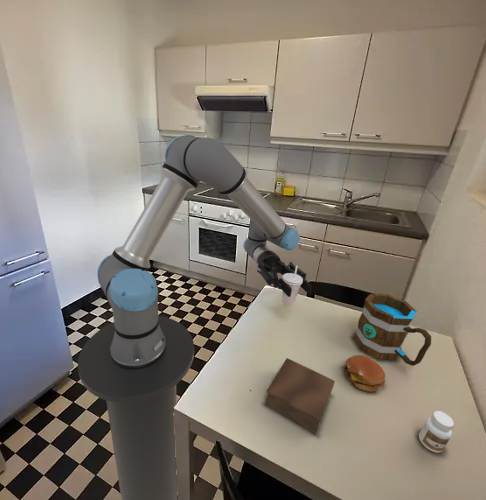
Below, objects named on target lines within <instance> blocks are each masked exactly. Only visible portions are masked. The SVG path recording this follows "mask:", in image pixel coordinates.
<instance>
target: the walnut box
mask: <svg viewBox="0 0 486 500" xmlns="http://www.w3.org/2000/svg"><path fill="white" fill-rule="evenodd" d="M335 382H336V380H334V379H332V378H330V377H328V376H325V375H324V374H322V373H320V372H317V371H315V370H314V369H311V368H309V367H307V366H306V365H303V364H301V363H298V362H297V361H294V360H293V359H290V358H288V357H286V358H285V360H284V362H283V364H282V365H281V366H280V368H279V370H278V372H277V373H276V375H275V376H274V378H273V379H272V381H271V383H270V385H269V386H268V388H267V390H266V393H267V394H266V401H265V406H266V407H268V408H270V409H271V410H273V411H274V412H276V413H278V414H279V415H282V416H283V417H285V418H286V419H288V420H290V421H291V422H292V423H295V424H297V425H298V426H300V427H301V428H303V429H305V430H307V431H309V432H310V433H312V434H314V435H315V436H316V435H317V433H318V430H319V427H320V424H321V423H322V420H323V417H324V414H325V412H326V408H327V405H328V402H329V400H330V397H331V394H332V391H333V389H334V385H335V384H336V383H335Z"/></svg>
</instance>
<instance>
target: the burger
mask: <svg viewBox="0 0 486 500" xmlns="http://www.w3.org/2000/svg"><path fill="white" fill-rule="evenodd" d="M344 364H345V366H344V368H343V369H344V371H345V376H346V377H347V380H349V381H351V382H352V383H353V385H354V386H355V387H356V388H357V389H359V390H361V391H364V392H369V393H373V392H377V391H378V390H379V389H381V388H382V387H384V385H385V383H386V380H385V379H386V373H385V371H384V369H383V367H382V366H381V365H380V364H379V363H377V362H376V361H375V360H374V359H372V358H371V357H369V356H366V355H364V354H356V355H355V354H354V355H352V356H350V357H348V358H347V359H346V360H345V362H344Z"/></svg>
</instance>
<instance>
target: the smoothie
mask: <svg viewBox="0 0 486 500" xmlns="http://www.w3.org/2000/svg"><path fill="white" fill-rule="evenodd" d="M295 266H296V268H295V273H294V274H293V273H286V274H284V275H282V277H281V278H282V279H283V280H284V281H285V282H286V283H287V284H288V285H289V286H290V287H291V288H292V291H291V297H288V296H287V295H286V294H285V293H284V292H283V291H282V297H281V298H282V299H281V302H282V305H283V306H285V307H288V308H292V307H294V306H295V303H296V299H297V297H298V294H299V291H300V288H301V287H300V286H301V284H302V283H303V278H302V277H301V276H299V275H297V274H296V272H297V268H299V267H298V265H295Z"/></svg>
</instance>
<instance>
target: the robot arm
mask: <svg viewBox="0 0 486 500" xmlns="http://www.w3.org/2000/svg"><path fill="white" fill-rule="evenodd" d="M164 158H165V159H164V160H165V161H164V162H163V165H161V168H160V169H161V173H162V177H161V179H160V180H159V182H158V184H157V186H156V187H155V189H154V191H153V193H152V194H151V196H150V198H149V200H148V202H147V203H146V204H145V207H144V208H143V210H142V212H141V214H140V215H139V217H138V219H137V220H136V222H135V223H134V226H133V228H132V229H131V231H130V232H129V235H128V237H127V238H126V240H125V242H124V243H123V245H121V246H117V247H115V248H114V249H113V252H112V253H111V254H109V255H106V256H105V257H104V258H103V259H102V260H101V261H100V263H99V265H98V268H97V272H96V273H97V275H96V276H97V281H98V284H99V286H100V288H101V289H102V291H103V293H104V295H105V297H106V299H107V301H108V303H109V305H110V307H111V310H112V316H113V317H112V318H113V322H114V326H115V333H114V338H113V341H112V343H111V347H110V352H111V358H112V360H113V362H114V363H115V364H116V365H118V366H120V367H122V368H125V369H140V368H144V367H147V366H150V365H152V364H154V363H155V362H157V361H158V360H159V359H160V358H161V357H162V356H163V354H164V352H165V349H166V340H165V336H164V335H163V332H162V330H161V328H160V326H159V324H158V316H159V297H158V295H159V289H158V285H157V280H156V277H155V276H154V275H153V274H152V273H151V272H149V271H150V268H151V263H150V258H151V256H152V255H153V253H154V251H155V250H156V248H157V246H158V244H159V242H160V241H161V239H162V238H163V235H164V234H165V232H166V231H167V229H168V227H169V225H170V224H171V222H172V220H173V219H174V217H175V215H176V213H177V211H178V210H179V208H180V207H181V205H182V203H183V201H184V199H185V198H186V196H187V194H188V193H189V192H192V191H195V190H196V189H197V188H198V186H199V184H200V182H201V183H203V184H206V185H208V186H210V187H211V188H213V189H215V191H217V192H218V193H219V194H220V195H221V196H227V197H228V199H229V200H231V201H232V202H233V203H234V204H235V205H236V206H237V207H238V208H239V209H240V210H241V211H242V212H243V213H244V214H245V215H246V216H247V217H248V219H249V226H248V235H247V236H248V237H247V238H245V240H244V242H243V249H244V251H245V252H246V255H248V256H249V257H250V258H251V259H252V260H253V261H254V262H255V263H256V264H257V268H256V269H257V270H256V272H257V273H258V274H260V276H261V277H262V278H263V280H264V281H265V283H266V284H267V285H268V286H273V288H276V289H279V290H280V291H282V293H283V292H284V293H285V294H286V295H287V296H288V297H291V291H292V288H291V287H290V286H289V285H288V284H287V283H286V282H285V281H284V280H283V279H282V277H281V278H279V275H278V274H280V275H282V276H283V275H284V274H286V273H293V274H294V273H295V268H296V266H297V265H295V264H294V263H293V262H292V261H289V262H288V263H285V262H284V261H282V259H281V258H280V256H279V254H277V253H275V252H274V251H273V250H272V248H270V247H269V246H268V245H267V242H268V243H269V242H270V243H271V244H274V245H275V246H277V247H279V248H280V249H283V250H286V251H293V250H294V249H295V248H297V246H298V245H299V243H300V240H301V239H300V238H301V235H300V233H299V231H298V230H297V229H294V228H292V227H290V226H288V225H287V223H286V222H285V221H284V220H283V219H282V218H281V216H280V215H279V214H278V213H277V212H276V210H274V208H273V206H272V205H271V204H270V203H269V202H268V201H267V200H266V198H265V197H264V196H263V194H261V192H260V191H259V190H258V189H257V188H256V187H255V185H254V184H253V183H252V182H251V180H250V179H249V178H248V177H247V171H246V169H245V168H244V166H243V165H242V164H241V163H240V161H239V160H238V159H237V157H235V155H233V154H232V152H231V151H229V150H228V148H226V146H225V145H223V144H222V143H221V142H220V141H218V140H216V139H214V138H211V137H204V136H203V137H202V136H195V135H192V134H184V135H180V136H177V137H174V138H173V139H172V140H171V141H170V142H169V143H168V145H167V146H166V148H165V151H164ZM296 274H297V275H299V276H301V277H302V278H303V283H302V284H301V286H300V288H301V289H302V290H303V291H304V292H306V294H308V295H311V294H312V290H313V285H312V284H311V283H309V281H308V280H307V273H306V272H305V271H303V270H301V269H300V268H299V267H297V272H296Z"/></svg>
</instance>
